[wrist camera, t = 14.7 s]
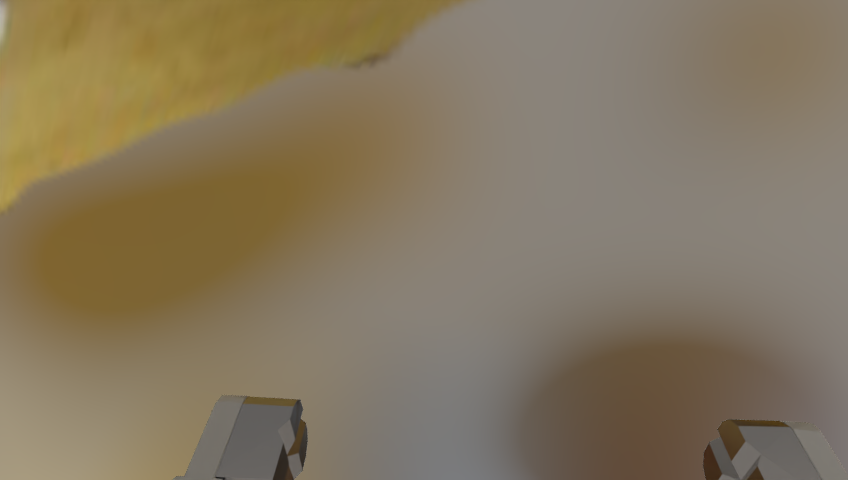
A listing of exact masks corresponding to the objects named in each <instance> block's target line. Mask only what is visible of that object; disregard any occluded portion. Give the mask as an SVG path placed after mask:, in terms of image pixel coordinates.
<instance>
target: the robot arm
mask: <svg viewBox="0 0 848 480" xmlns="http://www.w3.org/2000/svg"><path fill="white" fill-rule="evenodd" d="M302 411H303V407H302V404H301V400H300V399H283V398H266V397H250V396H232V395H222V396H221V397H220V398H219V400H218V401H217V402H216V403H215V406H214V408H213V410H212V412H211V415H210V417H209V419H208V422H207V424H206V427H205V429H204V431H203V434H202V436H201V438H200V441H199V443H198V445H197V448H196V450H195V452H194V455H193V457H192V459H191V462H190V464H189V466H188V469H187V471H186V474H185V476H176V477H175V478H174V479H173V480H294V479H295V478H296V477H297V476H298V475H299V474H300V473H301V472H302V471H303V466H304V462H305V458H306V450H307V442H308V437H307V436H308V435H307V426H306V423H305V422H304V421H303V420H302V419H301V415H302ZM717 430H718V432H719V434H720V437H719V438H717V439H715V440H713V441H711V442H709V444H708V445H707V447H706V449H705V451H704V455H703V456H704V457H703V469H704V474H705V478H706V480H848V474H847V473H846V471H845V469H844V468H843V466H842V464H841V463H840V461H839V460H838V458H837V456H836V455H835V453H834V452H833V450H832V449H831V447H830V445H829V444H828V442H827V441H826V439H825V437H824V436H823V434H822V433H821V432H820V430H819V429H818V428H817V427H816V426H815V425H813V424H811V423H806V422H781V421H772V420H770V421H769V420H739V419H738V420H737V419H728V420H726V421H723V422H722V423H721V425H720V426H719V427H718V429H717Z"/></svg>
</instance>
